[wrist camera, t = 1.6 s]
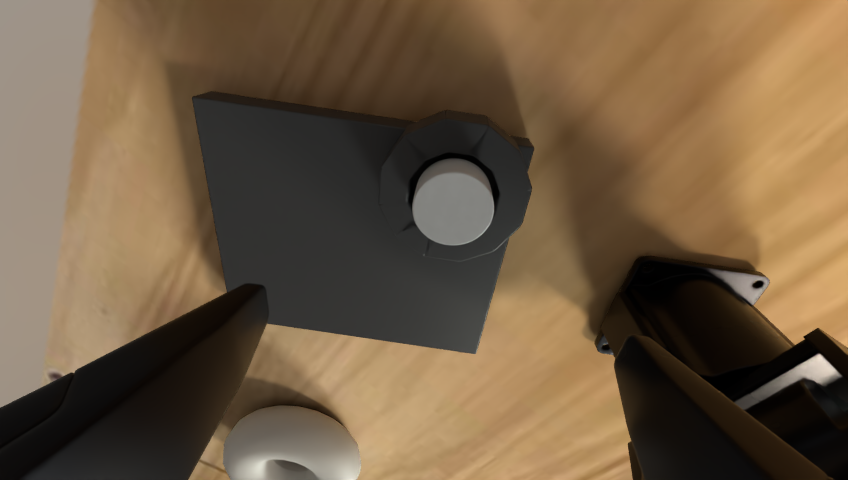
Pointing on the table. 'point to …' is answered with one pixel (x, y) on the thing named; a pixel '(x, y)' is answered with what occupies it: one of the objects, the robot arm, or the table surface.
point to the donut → (290, 447)
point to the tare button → (453, 202)
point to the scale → (355, 216)
